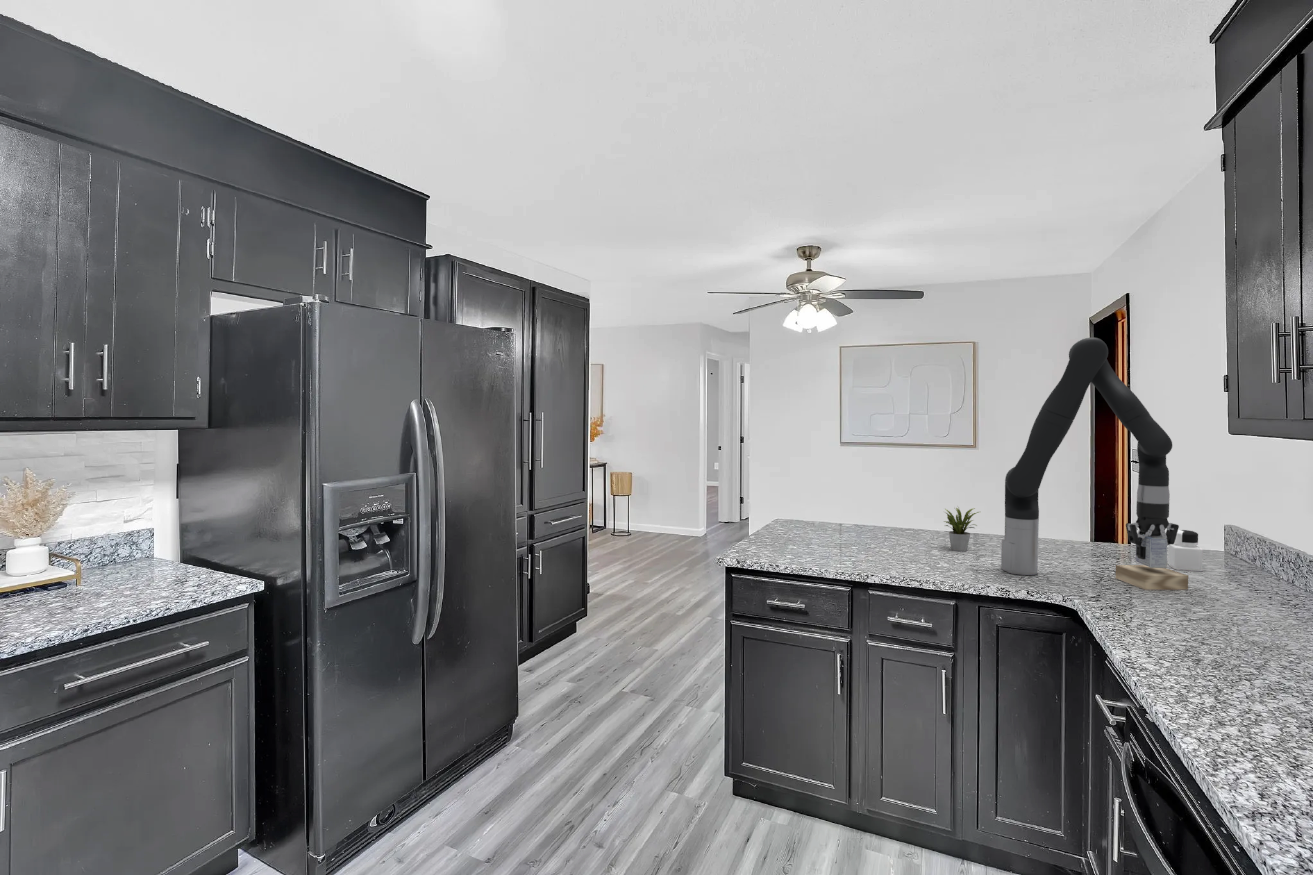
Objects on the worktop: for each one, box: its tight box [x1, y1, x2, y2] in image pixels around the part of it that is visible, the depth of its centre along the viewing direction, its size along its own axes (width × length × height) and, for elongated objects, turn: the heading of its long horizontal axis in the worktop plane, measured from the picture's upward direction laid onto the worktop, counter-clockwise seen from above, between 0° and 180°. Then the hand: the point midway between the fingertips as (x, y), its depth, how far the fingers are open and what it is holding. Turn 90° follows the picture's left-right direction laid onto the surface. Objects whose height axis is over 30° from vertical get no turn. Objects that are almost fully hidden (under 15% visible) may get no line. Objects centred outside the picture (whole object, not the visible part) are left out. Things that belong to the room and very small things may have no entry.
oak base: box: [1115, 564, 1189, 591], centre depth 188 cm, size 12×12×4 cm
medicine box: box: [1135, 532, 1168, 569], centre depth 188 cm, size 8×4×9 cm, turn 169°
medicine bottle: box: [1167, 529, 1204, 572], centre depth 205 cm, size 7×7×12 cm
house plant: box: [943, 506, 980, 552], centre depth 233 cm, size 14×14×16 cm
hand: (1151, 558), depth 188 cm, fingers closed on medicine box, 5 cm apart
